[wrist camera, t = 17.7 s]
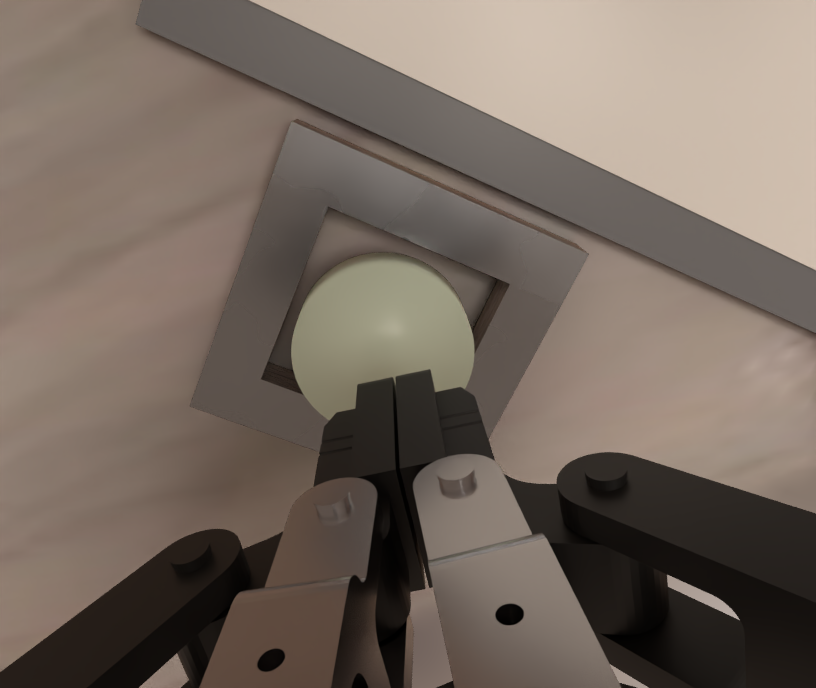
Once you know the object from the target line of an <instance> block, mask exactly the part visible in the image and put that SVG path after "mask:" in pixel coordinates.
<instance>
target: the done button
mask: <svg viewBox="0 0 816 688" xmlns="http://www.w3.org/2000/svg"><path fill="white" fill-rule="evenodd" d="M291 359H292V367H293V371H294V374H295V378H296V380H297V383H298V385H299V387H300V389H301V391H302V392H303V394H304V396H305V397H306V399H307V400H308V401H309V403H310V404H311V405H312V406H313V407H314V408H315V409H316V410H317V411H318V412H319V413H320V414H321V415H322V416H324V417H325V418H326V419H328V420H330V419H331V418H332V417H333V416H334V415H335V413H336V412H341V411H346V410H351V409H355V406H356V394H357V385H358V384H361V383H366V382H370V381H375V380H380V379H385V378H390V377H393V379H394V381H395V385H396V380H395V377H396V376H399V375H404V374H409V373H413V372H418V371H423V370H428V369H430V370H431V374H432V378H433V383H434V388H435V392H438V391H443V390H448V389H452V388H457V387H462V388H463V389H465V388H466V386H467V384H468V381H469V379H470V376H471V372H472V369H473V363H474V339H473V333H472V330H471V327H470V323H469V321H468V318H467V316H466V313H465V310H464V308H463V305H462V303H461V301H460V299H459V297H458V295H457V293H456V292H455V290H454V288H453V287H452V286H451V284H450V283H449V282H448V281H447V280H446V278H445V277H443V276H442V275H441V274H440V273H439V272H438V271H437V270H435V269H434V268H432V267H431V266H429V265H428V264H426V263H424V262H422V261H420V260H418V259H415V258H412V257H409V256H407V255H402V254H397V253H387V252H379V253H369V254H363V255H359V256H356V257H353V258H350V259H348V260H346V261H343V262H341V263H339V264H338V265H336V266H335V267H333V268H331V269H330V270H329V271H328V272H326V273H325V274H324V275H323V276H322V277H321V278H320V279H319V280H318V281H317V282H316V283H315V285H314V286H313V287H312V289H311V290H310V292H309V293H308V295H307V297H306V299H305V301H304V303H303V306H302V309H301V312H300V314H299V317H298V320H297V323H296V326H295V329H294V332H293V338H292V344H291Z"/></svg>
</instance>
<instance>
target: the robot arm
mask: <svg viewBox="0 0 816 688" xmlns="http://www.w3.org/2000/svg"><path fill="white" fill-rule="evenodd" d="M395 380H396V385H395V381H394V379H393V377H390V378H385V379H380V380H375V381H370V382H366V383H361V384H358V385H357V394H356V406H355V409H351V410H346V411H341V412H336V413H335V415H334V416H333V417H332V418H331V419H330V420H329V422H328V423H327V424H326V425H325V426H324V430H323V435H322V441H321V442H322V444H321V447H320V452H319V454H320V456H319V458H318V464H317V470H316V475H315V481H314V487H313V488H311V489H310V490H308V491H306V492H305V493H304V494H303V495H301V496H300V497H299V498H298V499H297V500H296V501H295V503H294V504H293V506H292V508H291V510H290V513H289V516H288V519H287V522H286V525H285V528H284V531H283V532H281V533H279V534H278V535H276V536H273V537H271V538H269V539H267V540H264V541H262V542H259V543H257V544H255V545H252V546H250V547H247V548H245V549H243V548H242V546H241V543H240V540H239V538H238V537H237V535H235V534H234V533H233V532H231V531H228V530H224V529H210V530H204V531H200V532H196V533H194V534H191V535H188V536H186V537H184V538H182V539H180V540H178V541H176V542H174V543H173V544H171V545H170V546H168V547H167V548H165V549H164V550H163V551H161V552H160V553H159V554H157V555H156V556H155V557H153V558H152V559H151V560H149V561H148V562H147V563H145V564H144V565H143V566H141V567H140V568H139V569H137V570H136V571H135V572H133V573H132V574H131V575H129V576H128V577H127V578H125V579H124V580H123V581H121V582H120V583H119V584H117V585H116V586H115V587H113V588H112V589H111V590H109V591H108V592H107V593H105V594H104V595H103V596H101V597H100V598H99V599H97V600H96V601H95V602H93V603H92V604H91V605H89V606H88V607H87V608H85V609H84V610H83V611H81V612H80V613H79V614H77V615H76V616H75V617H73V618H72V619H71V620H69V621H68V622H67V623H65V624H64V625H63V626H61V627H60V628H59V629H57V630H56V631H55V632H53V633H52V634H51V635H49V636H48V637H47V638H45V639H44V640H43V641H41V642H40V643H39V644H37V645H36V646H35V647H33V648H32V649H31V650H29V651H28V652H27V653H25V654H24V655H23V656H21V657H20V658H19V659H17V660H16V661H15V662H13V663H12V664H11V665H9V666H8V667H7V668H5V669H4V670H3V671H1V672H0V688H139V687H140V686H141V685H142V684H143V683H144V682H145V681H146V680H148V679H149V678H150V677H151V676H152V675H153V674H154V673H155V672H156V671H158V670H159V669H160V668H161V667H162V666H163V665H164V664H165V663H166V662H168V661H169V660H170V659H171V658H172V657H173V656H174V655H175V654H176V653H177V654H178V656H179V659H180V661H181V663H182V665H183V668H184V670H185V672H186V674H187V677H188V679H189V681H188V682H187V683H185V684H184V685H183V686H182V687H181V688H412V665H413V636H414V633H413V632H414V631H413V625H412V621H411V618H410V614H409V613H410V607H411V600H410V592H412V591H417V590H422V589H425V579H424V568H425V572H426V576H427V580H428V584H429V588H431V587H433V589H434V594H435V599H436V603H437V608H438V613H439V617H440V622H441V627H442V631H443V636H444V641H445V645H446V650H447V655H448V659H449V664H450V668H451V673H452V678H453V681H451V682H449V683H446V684H444V685H442V686H439V687H437V688H636V687H633V686H629V685H625V684H622V683H619V682H618V680H617V678H616V676H615V674H614V672H613V670H612V668H611V666H610V664H611V665H613V666H614V667H616V668H618V669H619V670H621V671H622V672H624V673H626V674H627V675H629V676H631V677H632V678H634V679H636V680H637V681H639V682H641V683H642V684H644V685H646V686H647V687H649V688H816V514H815V513H812V512H809V511H806V510H803V509H800V508H797V507H793V506H790V505H787V504H783V503H781V502H778V501H774V500H771V499H768V498H765V497H762V496H759V495H756V494H752V493H749V492H746V491H743V490H740V489H737V488H734V487H730V486H727V485H724V484H721V483H718V482H715V481H711V480H708V479H705V478H702V477H699V476H696V475H693V474H689V473H686V472H683V471H680V470H677V469H674V468H670V467H667V466H664V465H661V464H658V463H655V462H652V461H648V460H645V459H642V458H639V457H636V456H632V455H628V454H623V453H613V452H605V453H595V454H590V455H586V456H583V457H580V458H577V459H575V460H573V461H571V462H570V463H568V464H567V465H566V466H565V467H564V468H562V470H561V471H560V473H559V474H558V477H557V484H533V483H526V482H522V481H518V480H515V479H512V478H510V477H508V476H507V475H505V474H504V473H503V471H502V469H501V467H500V466H499V464H498V463H497V462H495V460H494V456H493V453H492V450H491V447H490V444H489V440H488V437H487V434H486V431H485V427H484V424H483V422H482V418H481V415H480V412H479V408H478V405H477V402H476V398H475V396H474V395H472V394H471V393H469V392H468V391H466V390H465V389H463V388H462V387H457V388H452V389H448V390H443V391H438V392H435V388H434V383H433V378H432V374H431V370H430V369H428V370H423V371H418V372H413V373H409V374H404V375H399V376H396V377H395ZM423 564H424V568H423ZM667 575H670V576H672V577H674V578H676V579H679V580H681V581H683V582H686V583H687V584H690V585H692V586H694V587H696V588H698V589H701V590H703V591H705V592H707V593H710V594H712V595H714V596H716V597H717V598H719V599H721V600H722V601H723V602H725V603H726V604H727V605H728V606H729V607H730V608H732V610H733V611H734V612H735V613H736V615H737V616H738V618H739V619H740V620H738V619H736V618H734V617H731V616H729V615H727V614H725V613H723V612H721V611H719V610H716V609H714V608H712V607H710V606H708V605H705V604H704V603H701V602H699V601H697V600H695V599H693V598H691V597H688V596H686V595H684V594H682V593H680V592H678V591H676V590H674V589H671V588H669V587H668V583H667Z"/></svg>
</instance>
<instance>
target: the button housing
mask: <svg viewBox="0 0 816 688" xmlns="http://www.w3.org/2000/svg"><path fill="white" fill-rule="evenodd" d="M328 207H330V208H333V209H335V210H337V211H340V212H342V213H344V214H347V215H349V216H351V217H354V218H356V219H358V220H361V221H363V222H365V223H368V224H370V225H372V226H375V227H377V228H379V229H382V230H384V231H387V232H389V233H391V234H394V235H396V236H398V237H401V238H403V239H405V240H408V241H410V242H412V243H415V244H417V245H419V246H422V247H424V248H426V249H429V250H431V251H433V252H436V253H438V254H441V255H443V256H445V257H448V258H450V259H452V260H455V261H457V262H459V263H462V264H464V265H466V266H469V267H471V268H473V269H476V270H478V271H480V272H483V273H485V274H487V275H490V276H492V277H495V278H497V279H498V281H497V283H496V285H495V287H494V289H493V291H492V293H491V295H490V297H489V299H488V301H487V303H486V305H485V307H484V309H483V311H482V313H481V315H480V317H479V319H478V321H477V323H476V325H475V327H474V329H473V331H472V333H473V339H474V363H473V369H472V372H471V376H470V379H469V381H468V384H467V386H466V388H465V390H466V391H468V392H469V393H471V394H472V395H474V396H475V398H476V402H477V405H478V408H479V412H480V415H481V418H482V422H483V424H484V427H485V431H486V434H487V437H488V439H489V437H490V435H491V433H492V432H493V430H494V428H495V426H496V424H497V422H498V421H499V419H500V417H501V415H502V413H503V411H504V410H505V408H506V406H507V404H508V402H509V400H510V398H511V397H512V395H513V393H514V391H515V389H516V387H517V386H518V384H519V382H520V380H521V378H522V376H523V375H524V373H525V371H526V369H527V367H528V365H529V364H530V362H531V360H532V358H533V356H534V354H535V352H536V351H537V349H538V347H539V345H540V343H541V341H542V340H543V338H544V336H545V334H546V332H547V330H548V329H549V327H550V325H551V323H552V321H553V319H554V318H555V316H556V314H557V312H558V310H559V308H560V306H561V305H562V303H563V301H564V299H565V297H566V295H567V294H568V292H569V290H570V288H571V286H572V284H573V283H574V281H575V279H576V277H577V275H578V273H579V272H580V270H581V268H582V266H583V264H584V262H585V260H586V259H587V257H588V255H589V254H588V253H587V252H586V251H584V250H583V249H582V248H581V247H579V246H578V245H577V244H575V243H573V242H571V241H569V240H566V239H564V238H562V237H560V236H557V235H555V234H553V233H551V232H549V231H546V230H544V229H542V228H540V227H537V226H535V225H533V224H531V223H528V222H526V221H524V220H522V219H520V218H517V217H515V216H513V215H511V214H508V213H506V212H504V211H502V210H499V209H497V208H495V207H493V206H491V205H488V204H486V203H484V202H482V201H479V200H477V199H475V198H473V197H470V196H468V195H466V194H464V193H461V192H459V191H457V190H455V189H453V188H450V187H448V186H446V185H444V184H441V183H439V182H437V181H435V180H432V179H430V178H428V177H426V176H424V175H421V174H419V173H417V172H415V171H412V170H410V169H408V168H406V167H403V166H401V165H399V164H397V163H395V162H392V161H390V160H388V159H386V158H383V157H381V156H379V155H377V154H374V153H372V152H370V151H368V150H366V149H363V148H361V147H359V146H357V145H354V144H352V143H350V142H348V141H345V140H343V139H341V138H339V137H336V136H334V135H332V134H330V133H328V132H325V131H323V130H321V129H319V128H316V127H314V126H312V125H310V124H307V123H305V122H303V121H301V120H299V119H296V120H293V121H291V124H290V127H289V129H288V132H287V135H286V138H285V141H284V143H283V146H282V149H281V152H280V155H279V157H278V160H277V163H276V166H275V169H274V171H273V174H272V177H271V180H270V183H269V185H268V188H267V191H266V194H265V197H264V199H263V202H262V205H261V208H260V211H259V213H258V216H257V219H256V222H255V225H254V227H253V230H252V233H251V236H250V239H249V241H248V244H247V247H246V250H245V253H244V255H243V258H242V261H241V264H240V267H239V270H238V272H237V275H236V278H235V281H234V284H233V286H232V289H231V292H230V295H229V298H228V300H227V303H226V306H225V309H224V312H223V314H222V317H221V320H220V323H219V326H218V328H217V331H216V334H215V337H214V340H213V342H212V345H211V348H210V351H209V354H208V356H207V359H206V362H205V365H204V368H203V370H202V373H201V376H200V379H199V382H198V384H197V387H196V390H195V393H194V396H193V398H192V401H191V404H190V407H193V408H196V409H199V410H201V411H204V412H207V413H210V414H213V415H216V416H218V417H221V418H224V419H227V420H230V421H233V422H236V423H238V424H241V425H244V426H247V427H250V428H253V429H255V430H258V431H261V432H264V433H267V434H270V435H272V436H275V437H278V438H281V439H284V440H287V441H290V442H292V443H295V444H298V445H301V446H304V447H307V448H309V449H312V450H315V451H318V452H320V447H321V444H322V442H321V441H322V435H323V430H324V426H325V425H326V424H327V423H328V422H329V420H328V419H326V418H325V417H324V416H322V415H321V414H320V413H319V412H318V411H317V410H316V409H315V408H314V407H313V406H312V405H311V404H310V403H309V401H308V400H307V399H306V397H305V396H304V394H303V392H302V391H301V389H300V387H299V385H298V383H297V380H296V378H295V374H294V371H291V370H288V369H286V368H283V367H280V366H278V365H275V364H272V363H270V362H268V360H269V358H270V355H271V353H272V350H273V347H274V345H275V342H276V340H277V337H278V335H279V332H280V330H281V327H282V324H283V322H284V319H285V317H286V314H287V312H288V309H289V307H290V304H291V302H292V299H293V296H294V294H295V291H296V289H297V286H298V284H299V281H300V279H301V276H302V274H303V271H304V268H305V266H306V263H307V261H308V258H309V256H310V253H311V251H312V248H313V246H314V243H315V240H316V238H317V235H318V233H319V230H320V228H321V225H322V223H323V220H324V217H325V215H326V212H327V210H328Z"/></svg>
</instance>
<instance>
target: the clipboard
mask: <svg viewBox="0 0 816 688" xmlns="http://www.w3.org/2000/svg"><path fill="white" fill-rule="evenodd" d="M136 25H138V26H140V27H143V28H145V29H147V30H149V31H151V32H154V33H156V34H158V35H160V36H162V37H165V38H167V39H169V40H171V41H173V42H176V43H178V44H180V45H182V46H184V47H187V48H189V49H191V50H193V51H195V52H198V53H200V54H202V55H204V56H207V57H209V58H211V59H213V60H215V61H218V62H220V63H222V64H224V65H226V66H229V67H231V68H233V69H235V70H237V71H240V72H242V73H244V74H246V75H248V76H251V77H253V78H255V79H257V80H259V81H262V82H264V83H266V84H268V85H270V86H273V87H275V88H277V89H279V90H281V91H284V92H286V93H288V94H290V95H292V96H295V97H297V98H299V99H301V100H303V101H306V102H308V103H310V104H312V105H314V106H317V107H319V108H321V109H323V110H325V111H328V112H330V113H332V114H334V115H336V116H339V117H341V118H343V119H345V120H347V121H350V122H352V123H354V124H356V125H358V126H361V127H363V128H365V129H367V130H369V131H372V132H374V133H376V134H378V135H380V136H383V137H385V138H387V139H389V140H391V141H394V142H396V143H398V144H400V145H402V146H405V147H407V148H409V149H411V150H413V151H416V152H418V153H420V154H422V155H424V156H427V157H429V158H431V159H433V160H435V161H438V162H440V163H442V164H444V165H446V166H449V167H451V168H453V169H455V170H457V171H460V172H462V173H464V174H466V175H468V176H471V177H473V178H475V179H477V180H479V181H482V182H484V183H486V184H488V185H490V186H493V187H495V188H497V189H499V190H501V191H504V192H506V193H508V194H510V195H512V196H515V197H517V198H519V199H521V200H524V201H526V202H528V203H530V204H532V205H535V206H537V207H539V208H541V209H543V210H546V211H548V212H550V213H552V214H554V215H557V216H559V217H561V218H563V219H565V220H568V221H570V222H572V223H574V224H576V225H579V226H581V227H583V228H585V229H587V230H590V231H592V232H594V233H596V234H598V235H601V236H603V237H605V238H607V239H609V240H612V241H614V242H616V243H618V244H620V245H623V246H625V247H627V248H629V249H631V250H634V251H636V252H638V253H640V254H642V255H645V256H647V257H649V258H651V259H653V260H656V261H658V262H660V263H662V264H664V265H667V266H669V267H671V268H673V269H675V270H678V271H680V272H682V273H684V274H686V275H689V276H691V277H693V278H695V279H697V280H700V281H702V282H704V283H706V284H708V285H711V286H713V287H715V288H717V289H719V290H722V291H724V292H726V293H728V294H730V295H733V296H735V297H737V298H739V299H741V300H744V301H746V302H748V303H750V304H752V305H755V306H757V307H759V308H761V309H763V310H766V311H768V312H770V313H772V314H774V315H777V316H779V317H781V318H783V319H785V320H788V321H790V322H792V323H794V324H796V325H799V326H801V327H803V328H805V329H807V330H810V331H812V332H814V333H816V0H142V2H141V5H140V9H139V13H138V17H137V20H136Z"/></svg>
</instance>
